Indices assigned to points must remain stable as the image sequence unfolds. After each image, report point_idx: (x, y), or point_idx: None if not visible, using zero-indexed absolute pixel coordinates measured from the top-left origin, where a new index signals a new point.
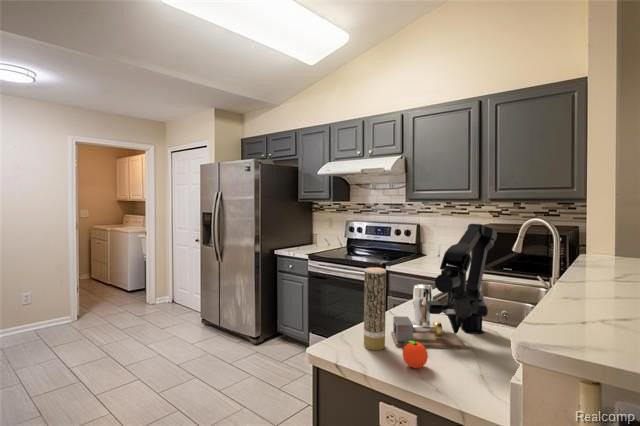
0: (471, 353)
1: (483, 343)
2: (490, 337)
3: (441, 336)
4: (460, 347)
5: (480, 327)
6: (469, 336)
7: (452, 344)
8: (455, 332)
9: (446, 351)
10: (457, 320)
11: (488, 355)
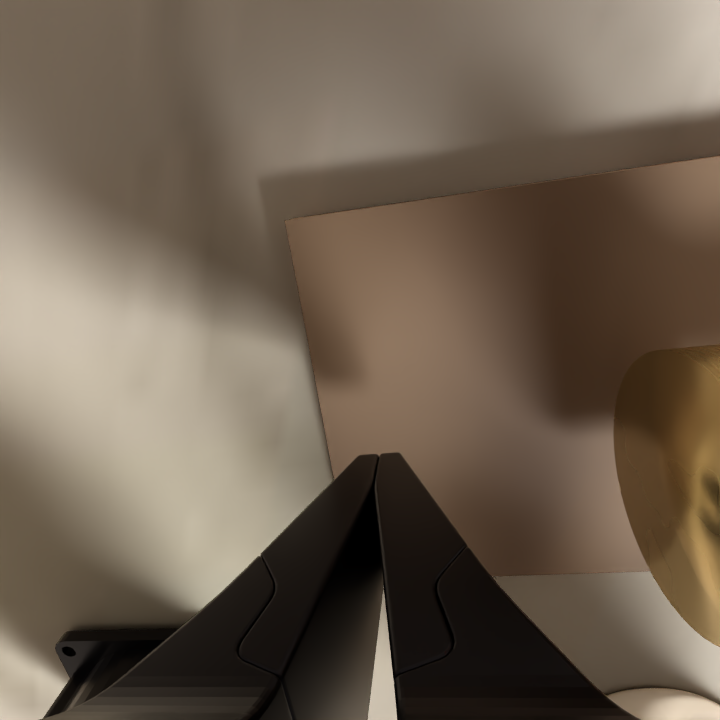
0: (239, 57)
1: (76, 412)
2: (11, 557)
3: (641, 361)
4: (362, 208)
5: (66, 702)
6: (205, 559)
7: (477, 219)
8: (388, 459)
9: (607, 42)
10: (322, 682)
11: (20, 40)
